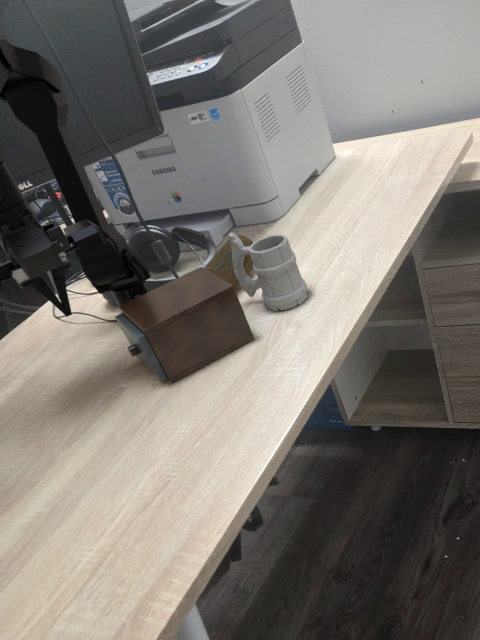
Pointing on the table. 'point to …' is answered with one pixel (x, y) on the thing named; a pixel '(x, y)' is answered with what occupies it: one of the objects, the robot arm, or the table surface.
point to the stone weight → (229, 262)
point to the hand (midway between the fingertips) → (68, 315)
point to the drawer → (140, 347)
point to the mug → (270, 271)
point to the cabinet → (190, 322)
